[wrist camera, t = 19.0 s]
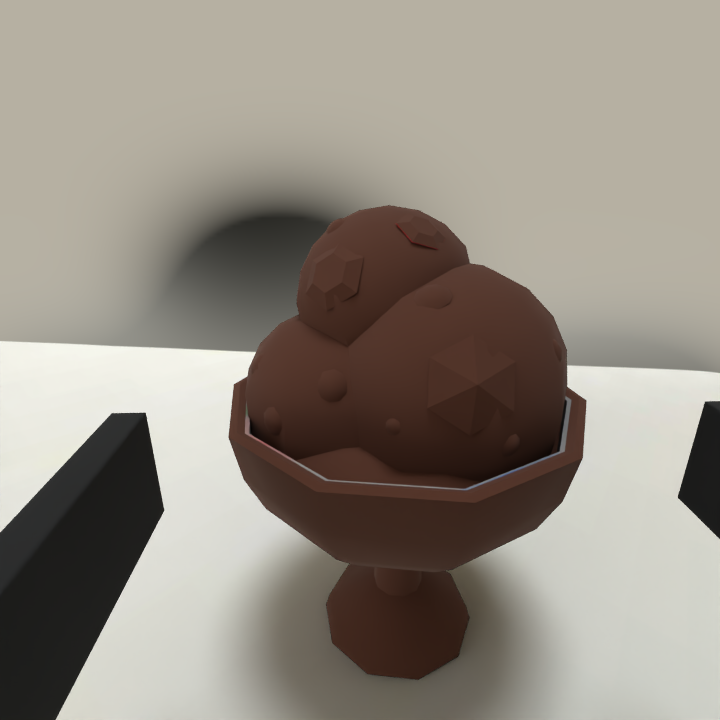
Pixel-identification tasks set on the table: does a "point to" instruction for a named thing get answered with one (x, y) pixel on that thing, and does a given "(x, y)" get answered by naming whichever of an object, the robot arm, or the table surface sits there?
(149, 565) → the table surface
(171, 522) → the table surface
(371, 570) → the ice cream bowl
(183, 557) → the table surface
